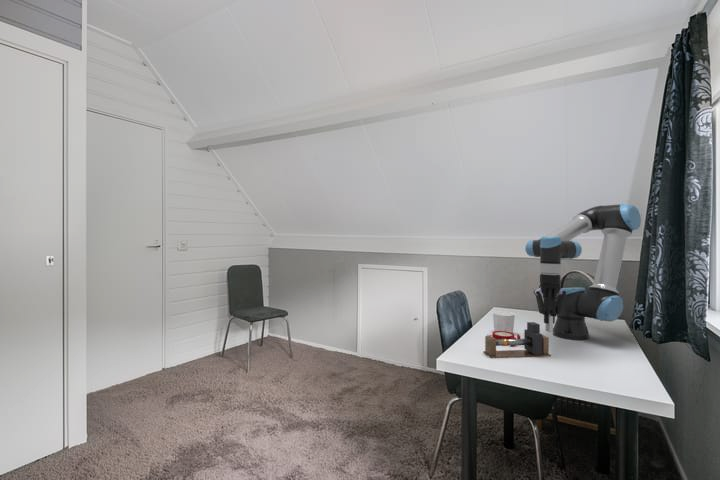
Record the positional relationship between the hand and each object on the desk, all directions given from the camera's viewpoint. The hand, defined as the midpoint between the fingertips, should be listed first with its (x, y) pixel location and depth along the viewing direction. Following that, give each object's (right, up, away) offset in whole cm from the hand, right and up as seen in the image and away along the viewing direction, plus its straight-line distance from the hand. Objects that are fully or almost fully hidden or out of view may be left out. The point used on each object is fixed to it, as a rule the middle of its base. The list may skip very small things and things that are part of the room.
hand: (549, 331), depth 151 cm
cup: (-7, -9, +31) cm, 33 cm away
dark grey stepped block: (-7, -9, 0) cm, 11 cm away
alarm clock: (-11, -9, +15) cm, 21 cm away
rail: (-14, -9, -1) cm, 17 cm away
